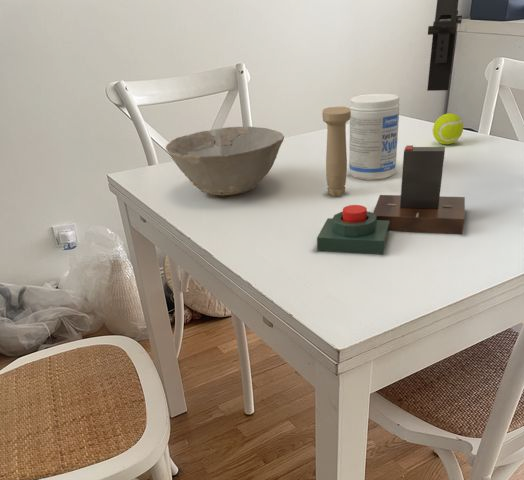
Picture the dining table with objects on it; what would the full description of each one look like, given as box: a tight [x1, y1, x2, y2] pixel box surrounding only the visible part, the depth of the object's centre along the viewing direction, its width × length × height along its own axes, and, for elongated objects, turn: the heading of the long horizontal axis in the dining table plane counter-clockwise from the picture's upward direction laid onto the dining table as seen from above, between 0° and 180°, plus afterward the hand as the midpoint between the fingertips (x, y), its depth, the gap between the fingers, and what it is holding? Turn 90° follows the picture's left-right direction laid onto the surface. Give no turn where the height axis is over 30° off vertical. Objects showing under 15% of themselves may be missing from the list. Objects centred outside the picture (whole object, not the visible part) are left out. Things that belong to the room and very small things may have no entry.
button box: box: [316, 210, 391, 255], centre depth 83 cm, size 10×8×4 cm
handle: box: [321, 106, 351, 197], centre depth 99 cm, size 5×6×15 cm
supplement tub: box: [348, 93, 401, 181], centre depth 108 cm, size 10×10×15 cm
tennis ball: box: [432, 112, 464, 145], centre depth 125 cm, size 7×7×7 cm
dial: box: [400, 145, 446, 209], centre depth 85 cm, size 6×2×9 cm, turn 73°
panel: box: [372, 194, 466, 235], centre depth 89 cm, size 14×10×3 cm
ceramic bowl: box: [165, 126, 285, 196], centre depth 107 cm, size 22×23×10 cm
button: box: [342, 204, 368, 223], centre depth 82 cm, size 4×4×2 cm
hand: (439, 82), depth 78 cm, fingers open, 13 cm apart
